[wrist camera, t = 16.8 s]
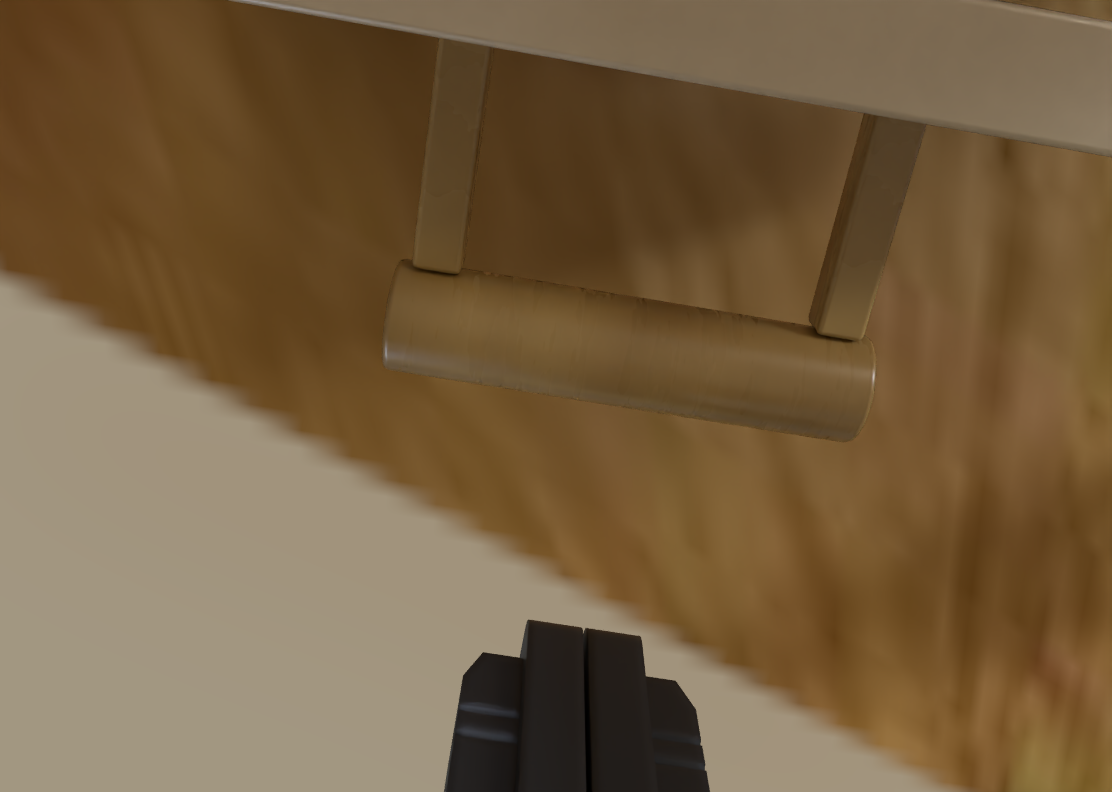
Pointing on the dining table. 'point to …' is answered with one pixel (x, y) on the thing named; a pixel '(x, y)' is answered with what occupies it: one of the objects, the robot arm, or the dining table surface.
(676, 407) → the drawer
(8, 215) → the dining table surface
